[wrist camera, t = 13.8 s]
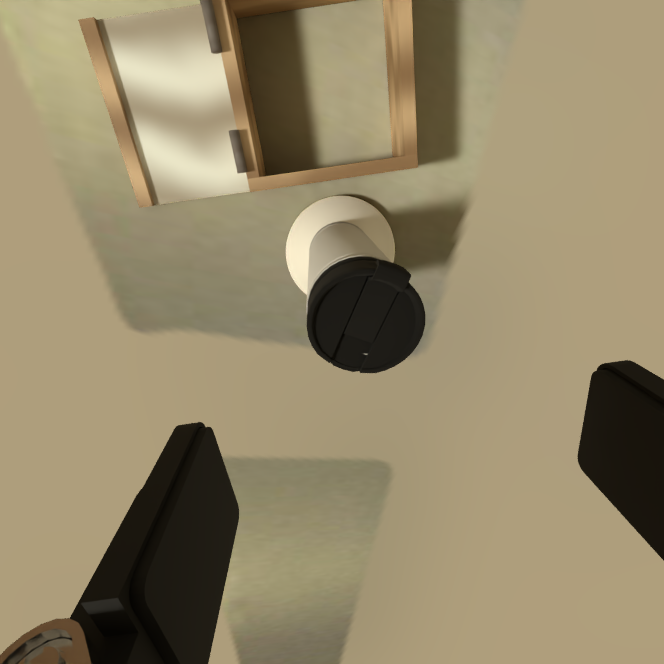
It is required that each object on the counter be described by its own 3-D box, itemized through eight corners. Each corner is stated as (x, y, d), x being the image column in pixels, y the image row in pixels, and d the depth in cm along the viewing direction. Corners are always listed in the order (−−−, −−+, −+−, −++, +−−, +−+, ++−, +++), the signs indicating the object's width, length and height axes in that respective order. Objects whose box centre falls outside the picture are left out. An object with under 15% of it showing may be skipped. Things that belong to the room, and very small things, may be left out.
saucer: (276, 204, 35) (276, 204, 35) (389, 187, 35) (391, 188, 35) (296, 310, 40) (296, 312, 39) (396, 295, 40) (398, 298, 39)
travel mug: (382, 231, 36) (455, 289, 18) (356, 292, 38) (397, 398, 20) (323, 207, 35) (335, 242, 17) (300, 271, 37) (288, 363, 19)
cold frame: (86, 25, 29) (36, -9, 24) (394, -22, 29) (412, -66, 24) (144, 206, 35) (114, 211, 30) (403, 168, 35) (420, 167, 29)
